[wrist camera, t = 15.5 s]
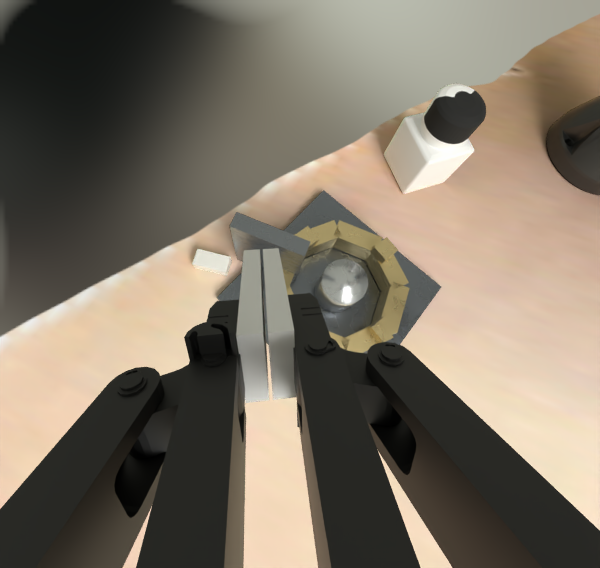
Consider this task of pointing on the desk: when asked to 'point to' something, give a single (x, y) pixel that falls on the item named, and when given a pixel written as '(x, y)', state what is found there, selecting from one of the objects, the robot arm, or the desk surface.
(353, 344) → the block with gold ring
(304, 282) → the housing plate
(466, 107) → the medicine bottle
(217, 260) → the small white rectangular block
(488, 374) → the desk surface
